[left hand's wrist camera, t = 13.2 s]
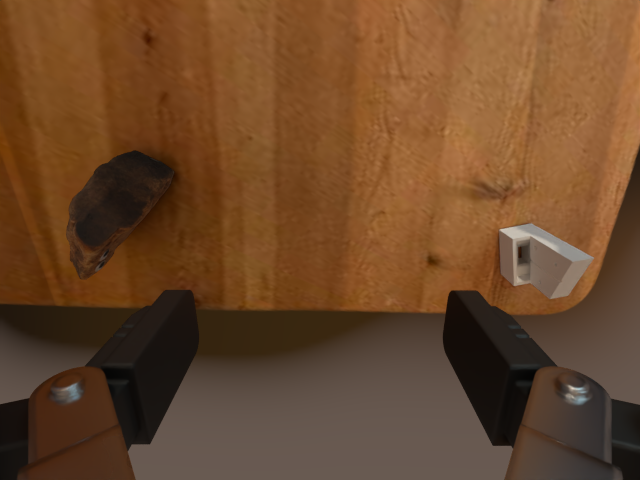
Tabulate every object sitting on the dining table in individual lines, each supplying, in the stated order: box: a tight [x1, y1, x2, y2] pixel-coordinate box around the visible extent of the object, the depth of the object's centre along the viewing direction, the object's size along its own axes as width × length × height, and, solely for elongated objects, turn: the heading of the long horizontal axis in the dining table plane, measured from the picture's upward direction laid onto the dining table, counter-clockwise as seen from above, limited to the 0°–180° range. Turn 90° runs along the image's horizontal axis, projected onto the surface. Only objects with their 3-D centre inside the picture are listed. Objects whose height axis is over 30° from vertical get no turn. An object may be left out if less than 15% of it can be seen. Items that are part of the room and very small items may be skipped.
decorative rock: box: [66, 151, 174, 280], centre depth 35 cm, size 12×6×11 cm, turn 140°
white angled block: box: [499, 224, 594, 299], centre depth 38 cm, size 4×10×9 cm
